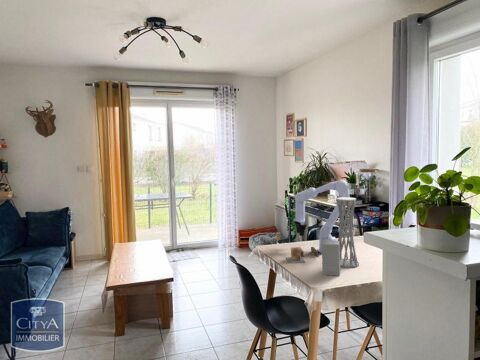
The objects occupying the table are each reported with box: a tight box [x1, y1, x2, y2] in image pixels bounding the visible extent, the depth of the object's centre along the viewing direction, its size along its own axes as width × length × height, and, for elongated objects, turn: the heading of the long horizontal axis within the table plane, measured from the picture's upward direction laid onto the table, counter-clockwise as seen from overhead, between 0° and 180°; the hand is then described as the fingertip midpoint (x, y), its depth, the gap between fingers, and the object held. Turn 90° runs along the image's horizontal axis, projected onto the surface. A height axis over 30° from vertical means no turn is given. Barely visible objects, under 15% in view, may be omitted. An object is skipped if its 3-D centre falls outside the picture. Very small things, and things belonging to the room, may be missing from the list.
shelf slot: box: [299, 246, 319, 258], centre depth 205 cm, size 10×10×3 cm
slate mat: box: [285, 256, 306, 264], centre depth 195 cm, size 9×9×1 cm
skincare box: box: [321, 240, 341, 277], centre depth 172 cm, size 8×7×16 cm
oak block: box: [290, 246, 301, 261], centre depth 194 cm, size 4×4×6 cm
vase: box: [336, 196, 360, 269], centre depth 185 cm, size 14×13×35 cm
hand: (300, 234), depth 215 cm, fingers open, 7 cm apart
